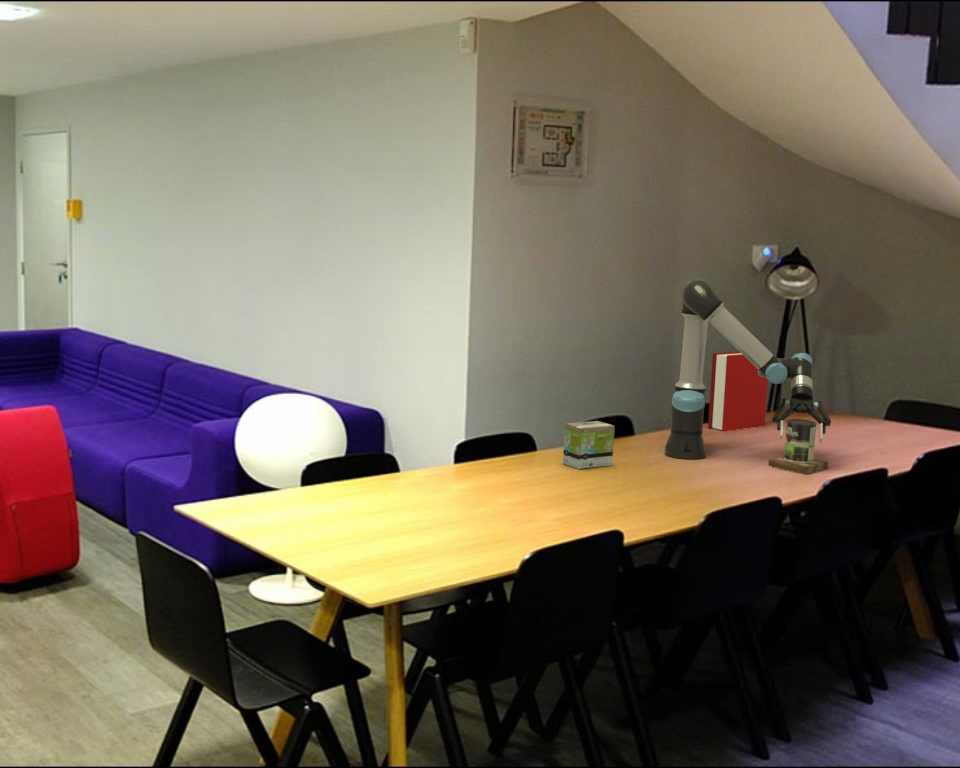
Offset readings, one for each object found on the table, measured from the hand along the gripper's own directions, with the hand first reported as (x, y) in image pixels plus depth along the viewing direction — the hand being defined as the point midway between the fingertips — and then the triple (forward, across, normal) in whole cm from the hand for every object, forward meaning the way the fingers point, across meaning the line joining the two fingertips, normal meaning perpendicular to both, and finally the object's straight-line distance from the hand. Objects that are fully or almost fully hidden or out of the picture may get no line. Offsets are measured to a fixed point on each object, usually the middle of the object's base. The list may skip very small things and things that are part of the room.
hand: (801, 439), depth 385 cm
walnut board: (+7, 0, -8) cm, 11 cm away
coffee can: (+5, 0, -7) cm, 8 cm away
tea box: (+22, +73, +6) cm, 77 cm away
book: (-43, +20, -59) cm, 76 cm away
